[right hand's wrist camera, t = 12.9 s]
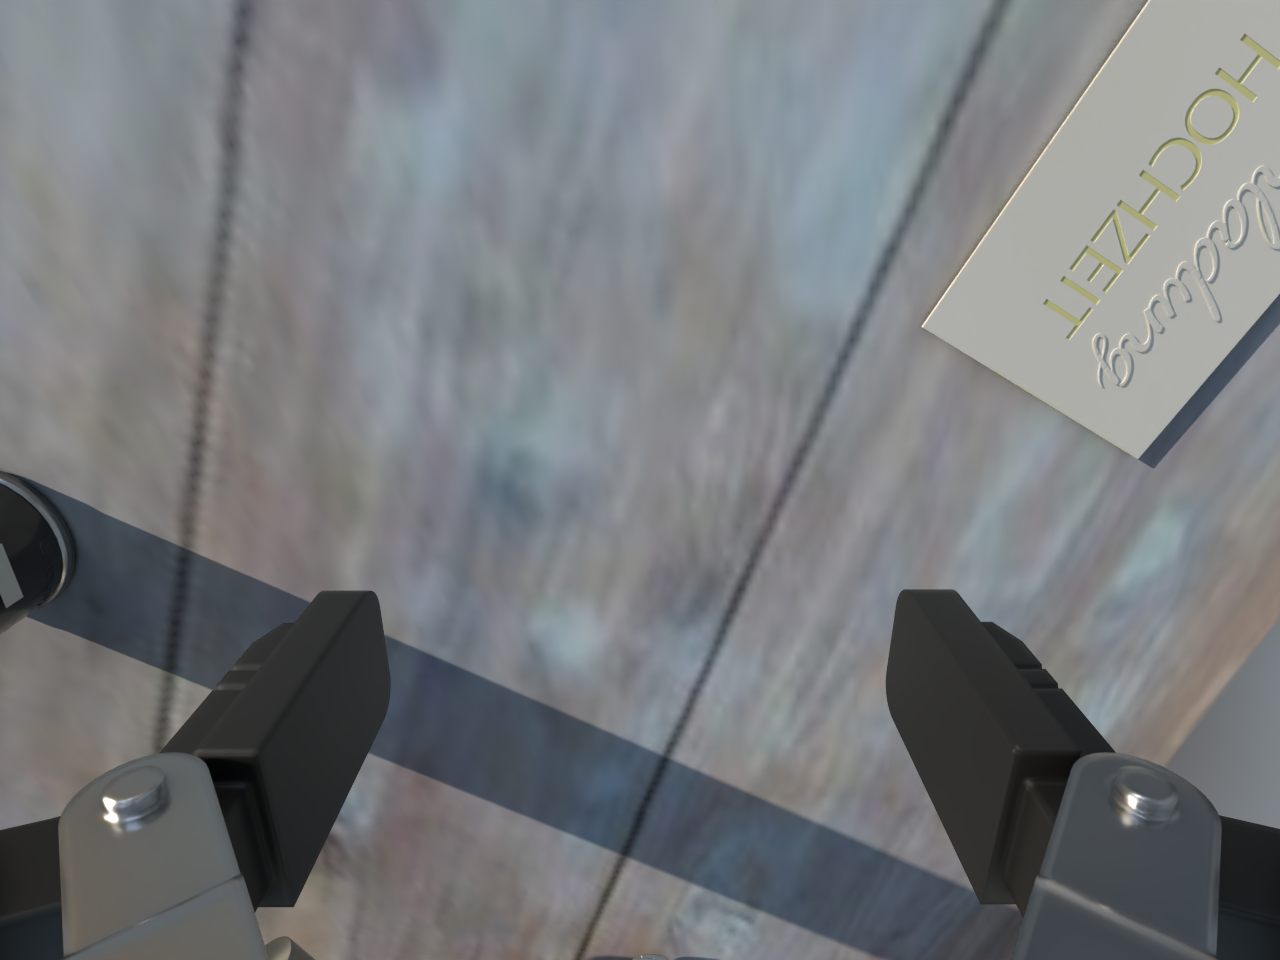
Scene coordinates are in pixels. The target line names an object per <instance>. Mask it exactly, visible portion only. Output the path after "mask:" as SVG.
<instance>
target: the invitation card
mask: <svg viewBox="0 0 1280 960" xmlns="http://www.w3.org/2000/svg"><path fill="white" fill-rule="evenodd" d="M1279 294H1280V0H1148V2H1147V3H1146V5H1145V6H1144V8H1143V9H1142V10H1141V12H1140V13H1139V15H1138V16H1137V18H1136V19H1135V21H1134V22H1133V23H1132V25H1131V26H1130V28H1129V29H1128V31H1127V32H1126V33H1125V35H1124V36H1123V38H1122V39H1121V41H1120V42H1119V44H1118V45H1117V46H1116V48H1115V49H1114V51H1113V52H1112V54H1111V55H1110V56H1109V58H1108V59H1107V61H1106V62H1105V64H1104V65H1103V67H1102V68H1101V69H1100V71H1099V72H1098V74H1097V75H1096V77H1095V78H1094V79H1093V81H1092V82H1091V84H1090V85H1089V87H1088V88H1087V90H1086V91H1085V92H1084V94H1083V95H1082V97H1081V98H1080V100H1079V101H1078V102H1077V104H1076V105H1075V107H1074V108H1073V110H1072V111H1071V113H1070V114H1069V115H1068V117H1067V118H1066V120H1065V121H1064V123H1063V124H1062V125H1061V127H1060V128H1059V130H1058V131H1057V133H1056V134H1055V136H1054V137H1053V138H1052V140H1051V141H1050V143H1049V144H1048V146H1047V147H1046V148H1045V150H1044V151H1043V153H1042V154H1041V156H1040V157H1039V159H1038V160H1037V161H1036V163H1035V164H1034V166H1033V167H1032V169H1031V170H1030V171H1029V173H1028V174H1027V176H1026V177H1025V179H1024V180H1023V182H1022V183H1021V184H1020V186H1019V187H1018V189H1017V190H1016V192H1015V193H1014V194H1013V196H1012V197H1011V199H1010V200H1009V202H1008V203H1007V205H1006V206H1005V207H1004V209H1003V210H1002V212H1001V213H1000V215H999V216H998V217H997V219H996V220H995V222H994V223H993V225H992V226H991V228H990V229H989V230H988V232H987V233H986V235H985V236H984V238H983V239H982V240H981V242H980V243H979V245H978V246H977V248H976V249H975V251H974V252H973V253H972V255H971V256H970V258H969V259H968V261H967V262H966V263H965V265H964V266H963V268H962V269H961V271H960V272H959V274H958V275H957V276H956V278H955V279H954V281H953V282H952V284H951V285H950V286H949V288H948V289H947V291H946V292H945V294H944V295H943V297H942V298H941V299H940V301H939V302H938V304H937V305H936V307H935V308H934V309H933V311H932V312H931V314H930V315H929V317H928V318H927V320H926V321H925V322H924V324H923V325H922V327H923V328H924V329H926V330H928V331H929V332H931V333H932V334H934V335H936V336H937V337H939V338H941V339H942V340H944V341H945V342H947V343H949V344H950V345H952V346H954V347H955V348H957V349H959V350H960V351H962V352H963V353H965V354H967V355H968V356H970V357H972V358H973V359H975V360H976V361H978V362H980V363H981V364H983V365H985V366H986V367H988V368H990V369H991V370H993V371H994V372H996V373H998V374H999V375H1001V376H1003V377H1004V378H1006V379H1008V380H1009V381H1011V382H1012V383H1014V384H1016V385H1017V386H1019V387H1021V388H1022V389H1024V390H1025V391H1027V392H1029V393H1030V394H1032V395H1034V396H1035V397H1037V398H1039V399H1040V400H1042V401H1043V402H1045V403H1047V404H1048V405H1050V406H1052V407H1053V408H1055V409H1056V410H1058V411H1060V412H1061V413H1063V414H1065V415H1066V416H1068V417H1070V418H1071V419H1073V420H1074V421H1076V422H1078V423H1079V424H1081V425H1083V426H1084V427H1086V428H1087V429H1089V430H1091V431H1092V432H1094V433H1096V434H1097V435H1099V436H1101V437H1102V438H1104V439H1105V440H1107V441H1109V442H1110V443H1112V444H1114V445H1115V446H1117V447H1118V448H1120V449H1122V450H1123V451H1125V452H1127V453H1128V454H1130V455H1132V456H1133V457H1135V458H1137V459H1139V457H1140V456H1141V455H1142V454H1143V453H1144V452H1145V450H1146V449H1147V448H1148V447H1149V446H1150V445H1151V443H1152V442H1153V441H1154V440H1155V439H1156V438H1157V436H1158V435H1159V434H1160V433H1161V432H1162V431H1163V429H1164V428H1165V427H1166V426H1167V425H1168V424H1169V422H1170V421H1171V420H1172V419H1173V418H1174V417H1175V415H1176V414H1177V413H1178V412H1179V411H1180V410H1181V408H1182V407H1183V406H1184V405H1185V404H1186V402H1187V401H1188V400H1189V399H1190V398H1191V397H1192V395H1193V394H1194V393H1195V392H1196V391H1197V390H1198V388H1199V387H1200V386H1201V385H1202V384H1203V383H1204V381H1205V380H1206V379H1207V378H1208V377H1209V376H1210V374H1211V373H1212V372H1213V371H1214V370H1215V369H1216V367H1217V366H1218V365H1219V364H1220V363H1221V362H1222V360H1223V359H1224V358H1225V357H1226V356H1227V355H1228V353H1229V352H1230V351H1231V350H1232V349H1233V348H1234V346H1235V345H1236V344H1237V343H1238V342H1239V341H1240V339H1241V338H1242V337H1243V336H1244V335H1245V334H1246V332H1247V331H1248V330H1249V329H1250V328H1251V327H1252V325H1253V324H1254V323H1255V322H1256V321H1257V320H1258V318H1259V317H1260V316H1261V315H1262V314H1263V313H1264V311H1265V310H1266V309H1267V308H1268V307H1269V306H1270V304H1271V303H1272V302H1273V301H1274V300H1275V299H1276V297H1277V296H1278V295H1279Z"/></svg>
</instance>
